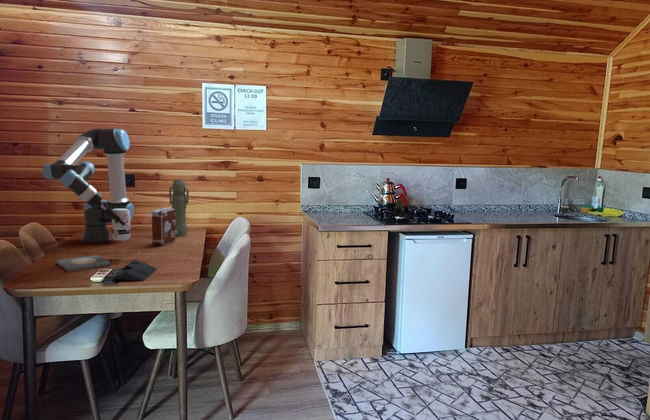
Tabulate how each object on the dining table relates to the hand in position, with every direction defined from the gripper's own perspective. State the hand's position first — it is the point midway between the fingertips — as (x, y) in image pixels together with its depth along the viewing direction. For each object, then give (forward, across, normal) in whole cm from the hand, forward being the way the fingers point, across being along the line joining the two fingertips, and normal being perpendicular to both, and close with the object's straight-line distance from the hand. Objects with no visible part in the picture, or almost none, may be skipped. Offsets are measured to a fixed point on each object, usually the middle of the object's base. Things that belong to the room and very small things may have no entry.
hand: (128, 227), depth 237 cm
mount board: (-4, +8, -25) cm, 27 cm away
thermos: (+36, -50, +13) cm, 63 cm away
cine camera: (+28, -30, +5) cm, 41 cm away
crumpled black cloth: (+10, +34, -12) cm, 38 cm away
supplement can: (+2, 0, -6) cm, 7 cm away
